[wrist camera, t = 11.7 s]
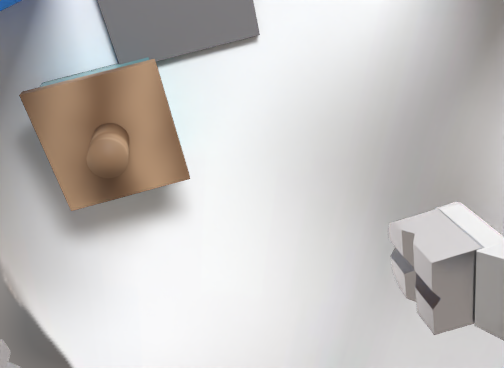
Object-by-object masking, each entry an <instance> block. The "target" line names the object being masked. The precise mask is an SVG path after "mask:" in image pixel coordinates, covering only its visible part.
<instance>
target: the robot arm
mask: <svg viewBox="0 0 504 368" xmlns="http://www.w3.org/2000/svg"><path fill="white" fill-rule="evenodd" d="M388 233H389V240H390V241H391V242H392V244H393V245H394V246H395V249H394V251H393V252H392V254H391V256H390V257H391V265H392V271H393V274H394V277H395V280H396V282H397V284H398V286H399V288H400V290H401V291H402V293H403V294H404V295H405V297H406V298H408V299H410V300H413V301H415V302H416V305H417V313H418V314H419V316H420V317H421V318H422V320H423V321H424V322H425V324H426V325H427V326H428V328H429V329H430V330H431V332H432V333H433V334H434V335H436V334H439V333H443V332H446V331H450V330H453V329H457V328H460V327H464V326H467V325H471V324H474V323H475V326H477V327H479V328H480V329H482V330H484V331H486V332H488V333H490V334H492V335H494V336H496V337H498V338H500V339H502V340H504V236H502V235H501V234H500V233H499V232H497V231H496V230H495V229H494V228H492V227H491V226H490V225H489V224H487V223H486V222H485V221H484V220H482V219H481V218H480V217H479V216H477V215H476V214H475V213H474V212H472V211H471V210H470V209H469V208H467V207H466V206H465V205H464V204H462V203H460V202H453V203H450V204H447V205H444V206H440V207H437V208H434V210H431V211H427V212H424V213H421V214H417V215H414V216H410V217H407V218H404V219H400V220H397V221H394V222H390V223H389V228H388ZM10 353H11V351H10V349H9V348H8V347H7V345H6V344H5V342H4V341H3V340H1V339H0V368H21V367H19V366H17V365H15V364H12V363H10V362H8V360H9V356H10Z"/></svg>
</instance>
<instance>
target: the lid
mask: <svg viewBox="0 0 504 368" xmlns="http://www.w3.org/2000/svg"><path fill="white" fill-rule="evenodd" d="M19 96H20V98H21V100H22V102H23V105H24V107H25V109H26V111H27V114H28V116H29V118H30V120H31V123H32V125H33V127H34V129H35V131H36V134H37V136H38V138H39V140H40V143H41V145H42V147H43V149H44V151H45V154H46V156H47V158H48V160H49V163H50V165H51V167H52V169H53V172H54V174H55V176H56V178H57V180H58V183H59V185H60V187H61V189H62V192H63V194H64V196H65V198H66V201H67V203H68V205H69V207H70V209H71V211H73V210H77V209H81V208H84V207H88V206H92V205H95V204H99V203H103V202H107V201H110V200H114V199H118V198H121V197H125V196H129V195H132V194H136V193H140V192H143V191H147V190H151V189H154V188H158V187H162V186H165V185H169V184H173V183H176V182H180V181H184V180H187V179H190V176H189V172H188V169H187V165H186V162H185V158H184V155H183V152H182V148H181V145H180V142H179V138H178V135H177V131H176V128H175V125H174V121H173V118H172V115H171V111H170V108H169V105H168V101H167V98H166V94H165V91H164V88H163V84H162V81H161V78H160V74H159V71H158V68H157V64H156V61H155V59H151V60H147V61H143V62H139V63H135V64H131V65H127V66H123V67H119V68H115V69H111V70H107V71H103V72H99V73H95V74H91V75H87V76H83V77H79V78H75V79H71V80H67V81H63V82H59V83H55V84H51V85H47V86H43V87H39V88H35V89H31V90H27V91H23V92H22V93H21V94H20V95H19Z"/></svg>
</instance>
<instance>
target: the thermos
mask: <svg viewBox="0 0 504 368" xmlns="http://www.w3.org/2000/svg"><path fill="white" fill-rule="evenodd" d="M19 1H21V0H0V11H2V10H4V9H6V8H8V7H9V6H11V5H13V4H15V3H17V2H19Z"/></svg>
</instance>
